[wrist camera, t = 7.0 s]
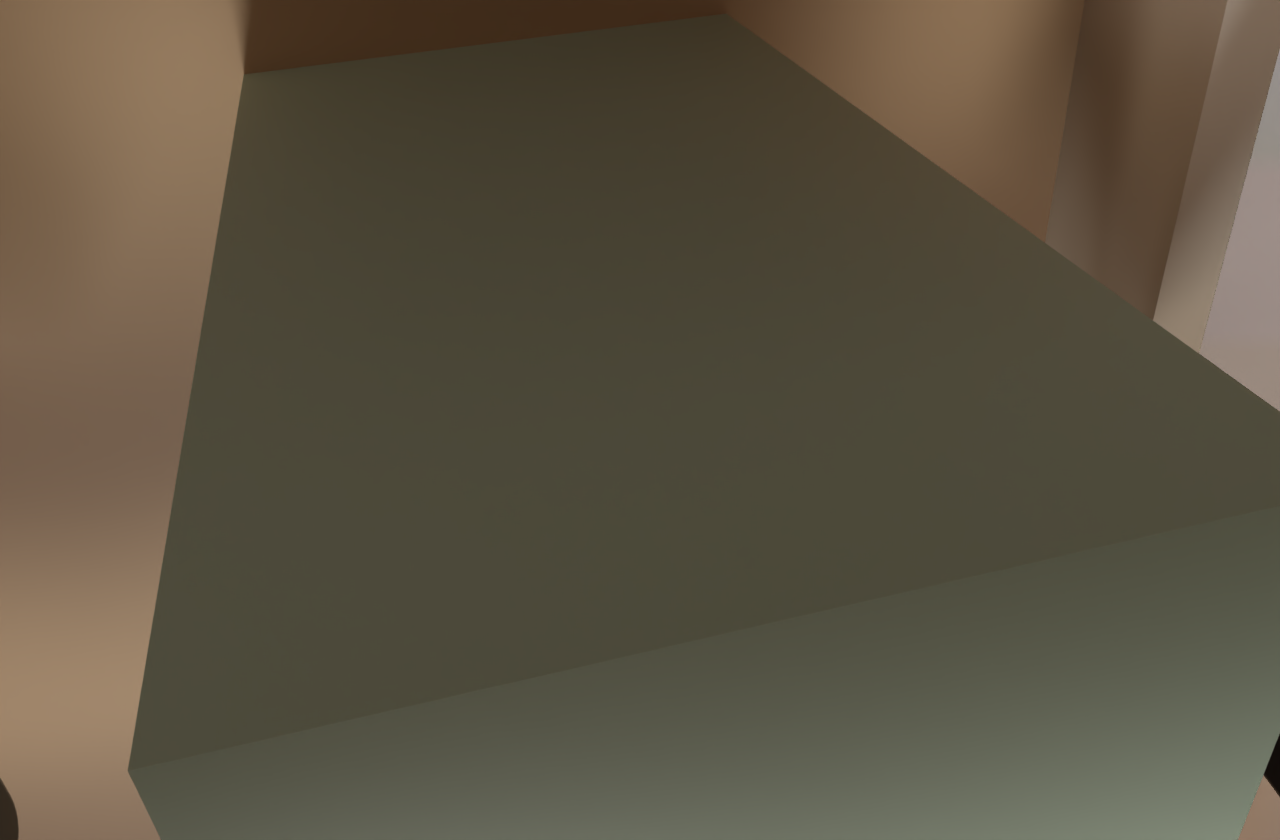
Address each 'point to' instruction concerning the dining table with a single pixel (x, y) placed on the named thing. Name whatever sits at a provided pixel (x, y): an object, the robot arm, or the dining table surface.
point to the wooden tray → (449, 18)
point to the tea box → (685, 482)
